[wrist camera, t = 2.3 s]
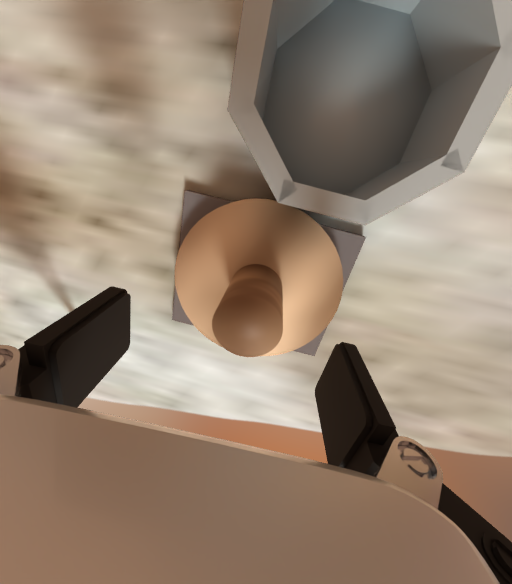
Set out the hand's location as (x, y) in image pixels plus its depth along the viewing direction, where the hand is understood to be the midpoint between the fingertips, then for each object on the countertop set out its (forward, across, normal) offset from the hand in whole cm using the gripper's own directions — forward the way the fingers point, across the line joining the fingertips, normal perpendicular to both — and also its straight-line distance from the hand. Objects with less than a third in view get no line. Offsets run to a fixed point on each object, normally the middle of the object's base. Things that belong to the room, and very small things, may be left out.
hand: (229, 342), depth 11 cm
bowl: (+8, -3, -11) cm, 14 cm away
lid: (+7, -1, 0) cm, 7 cm away
